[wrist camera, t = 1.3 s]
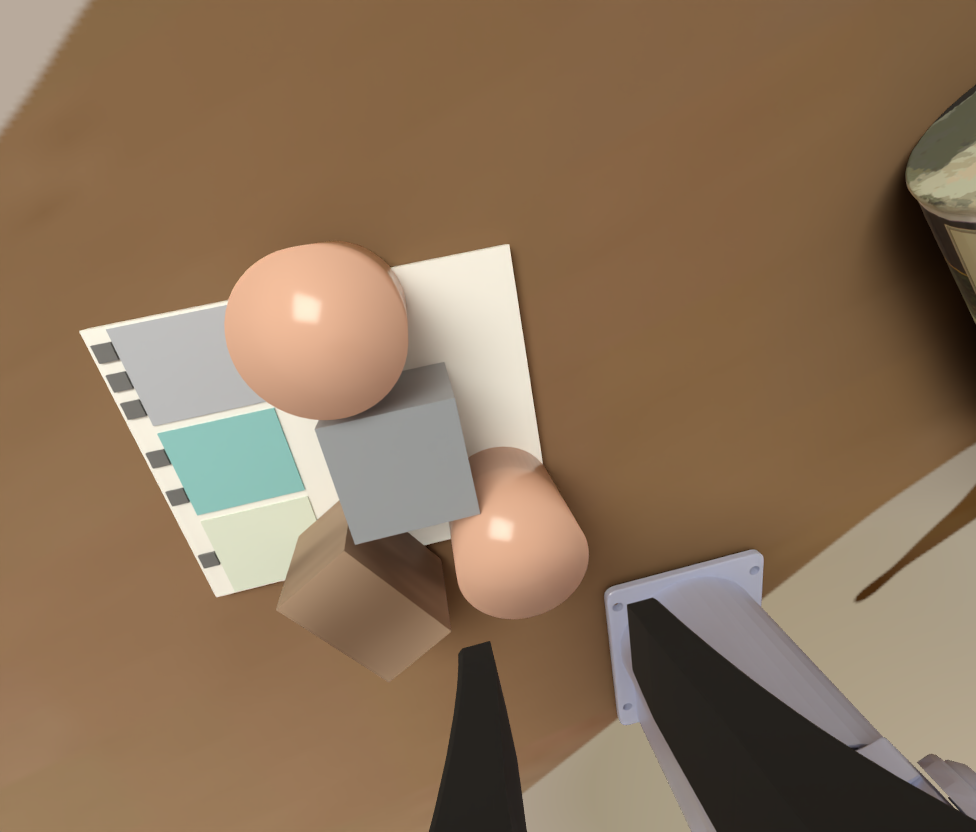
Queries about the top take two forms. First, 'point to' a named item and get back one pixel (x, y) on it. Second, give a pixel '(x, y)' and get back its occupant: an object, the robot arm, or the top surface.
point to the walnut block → (366, 594)
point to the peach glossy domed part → (319, 329)
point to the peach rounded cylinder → (517, 538)
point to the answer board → (291, 439)
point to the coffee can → (950, 189)
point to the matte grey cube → (401, 459)
